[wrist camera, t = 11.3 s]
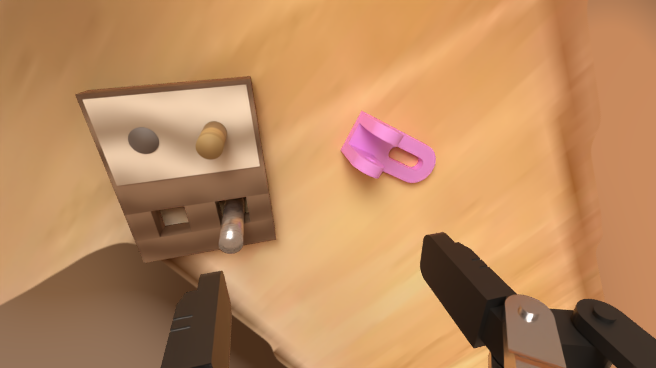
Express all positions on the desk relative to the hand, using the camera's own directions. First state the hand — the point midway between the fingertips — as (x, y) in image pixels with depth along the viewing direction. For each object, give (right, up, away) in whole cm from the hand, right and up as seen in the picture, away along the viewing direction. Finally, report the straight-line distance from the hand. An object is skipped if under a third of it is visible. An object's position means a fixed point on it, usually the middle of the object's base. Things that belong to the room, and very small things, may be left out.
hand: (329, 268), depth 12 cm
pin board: (-16, +5, +25) cm, 30 cm away
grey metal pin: (-12, +1, +27) cm, 30 cm away
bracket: (+8, +8, +30) cm, 32 cm away
